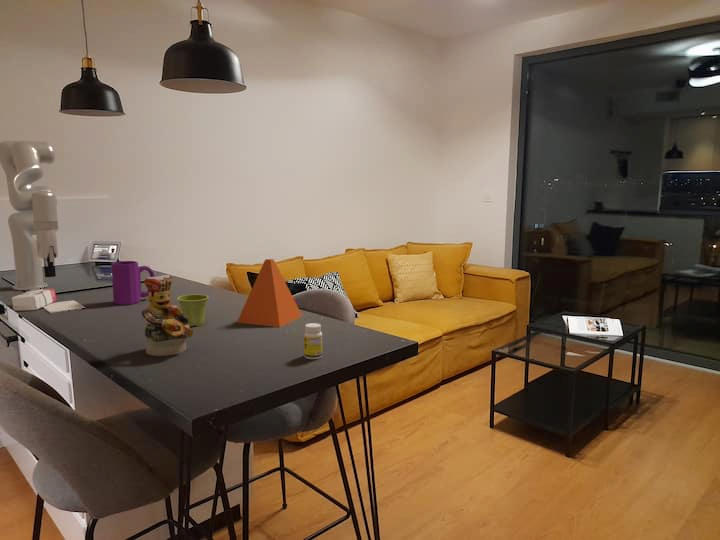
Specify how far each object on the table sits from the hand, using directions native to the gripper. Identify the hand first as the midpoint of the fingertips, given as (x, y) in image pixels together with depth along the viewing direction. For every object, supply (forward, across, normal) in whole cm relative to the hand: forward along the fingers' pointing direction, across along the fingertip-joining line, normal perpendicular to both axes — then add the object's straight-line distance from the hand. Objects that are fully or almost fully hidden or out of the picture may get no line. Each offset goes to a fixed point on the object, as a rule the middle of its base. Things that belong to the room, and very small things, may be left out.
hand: (50, 276), depth 193 cm
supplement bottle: (+10, +112, +35) cm, 118 cm away
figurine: (+10, +83, +9) cm, 84 cm away
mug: (+10, +17, +24) cm, 31 cm away
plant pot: (+10, +62, +26) cm, 68 cm away
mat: (+10, +10, +1) cm, 14 cm away
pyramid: (+10, +72, +48) cm, 87 cm away
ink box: (+6, -1, -2) cm, 7 cm away
